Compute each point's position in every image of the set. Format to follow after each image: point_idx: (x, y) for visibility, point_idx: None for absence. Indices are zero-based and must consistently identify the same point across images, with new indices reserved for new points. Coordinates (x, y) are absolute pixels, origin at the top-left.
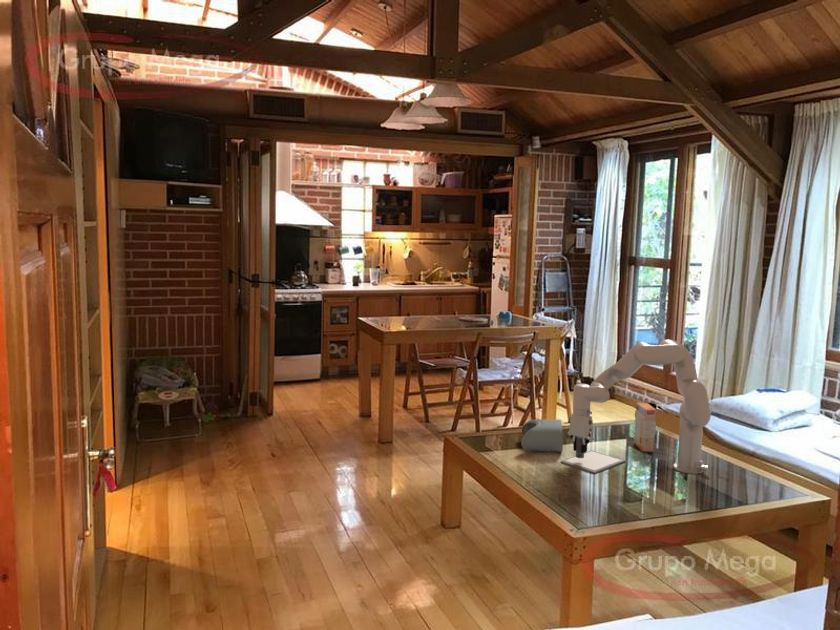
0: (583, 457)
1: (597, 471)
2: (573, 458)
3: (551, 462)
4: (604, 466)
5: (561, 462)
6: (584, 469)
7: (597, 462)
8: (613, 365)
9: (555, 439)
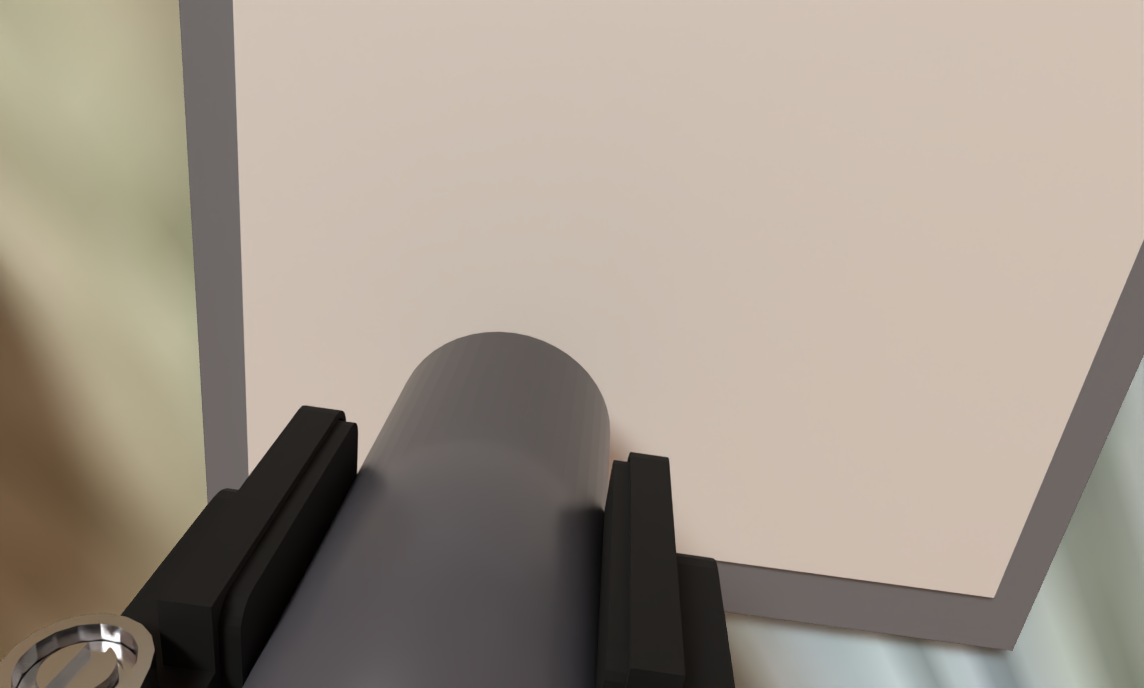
0: (609, 437)
1: (1043, 570)
2: (284, 254)
3: (110, 599)
4: (1128, 260)
5: None
6: (778, 610)
7: (881, 106)
8: None
9: None
